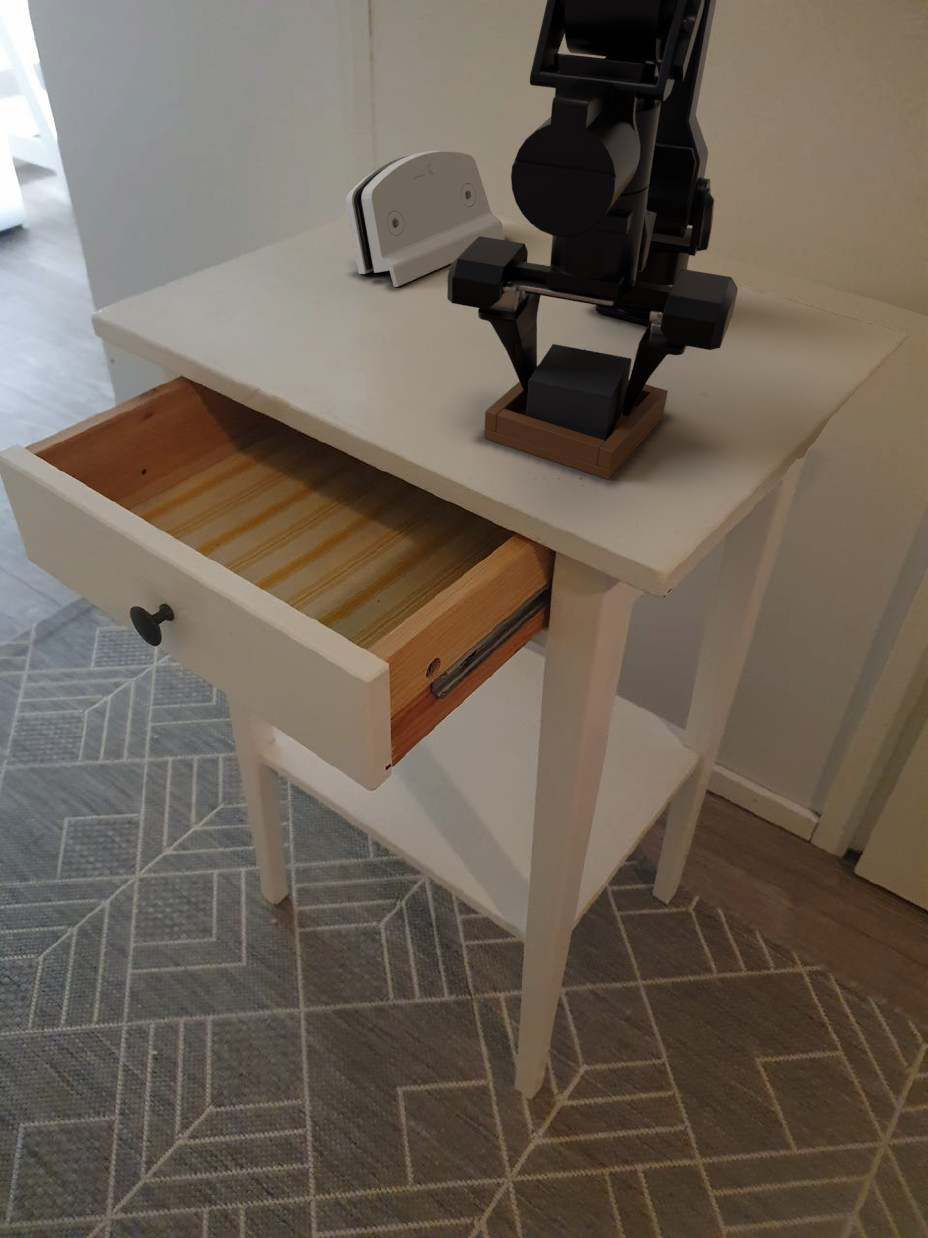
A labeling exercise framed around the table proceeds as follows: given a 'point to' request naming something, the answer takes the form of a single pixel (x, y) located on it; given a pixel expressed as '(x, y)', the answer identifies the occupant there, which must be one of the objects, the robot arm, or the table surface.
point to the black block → (579, 390)
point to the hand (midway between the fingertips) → (577, 403)
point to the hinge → (419, 214)
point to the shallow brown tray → (573, 432)
